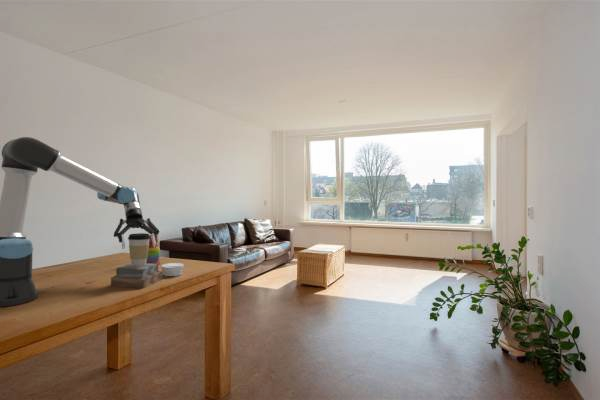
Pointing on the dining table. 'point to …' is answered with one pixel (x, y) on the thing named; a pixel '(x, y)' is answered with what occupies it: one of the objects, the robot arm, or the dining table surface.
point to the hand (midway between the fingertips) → (139, 246)
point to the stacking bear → (153, 252)
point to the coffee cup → (138, 249)
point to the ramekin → (172, 269)
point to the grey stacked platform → (136, 276)
